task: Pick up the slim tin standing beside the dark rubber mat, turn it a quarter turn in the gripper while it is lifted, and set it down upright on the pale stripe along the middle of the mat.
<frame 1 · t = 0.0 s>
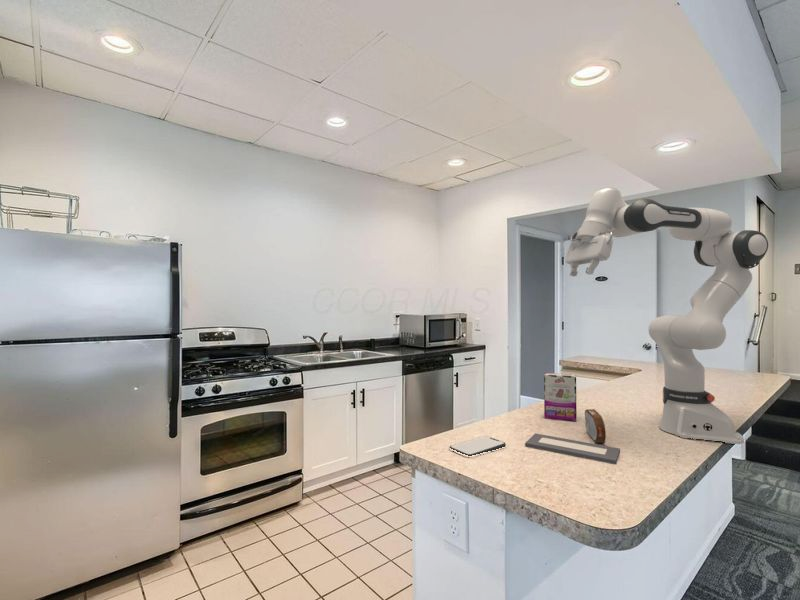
hand: (580, 274, 133), 52 cm above the counter, tool tilted 20°, fingers open, 8 cm apart
candy bar box: (560, 419, 151), on the counter
turn mat: (571, 449, 119), on the counter
tin: (594, 439, 129), on the counter
phone case: (477, 450, 119), on the counter
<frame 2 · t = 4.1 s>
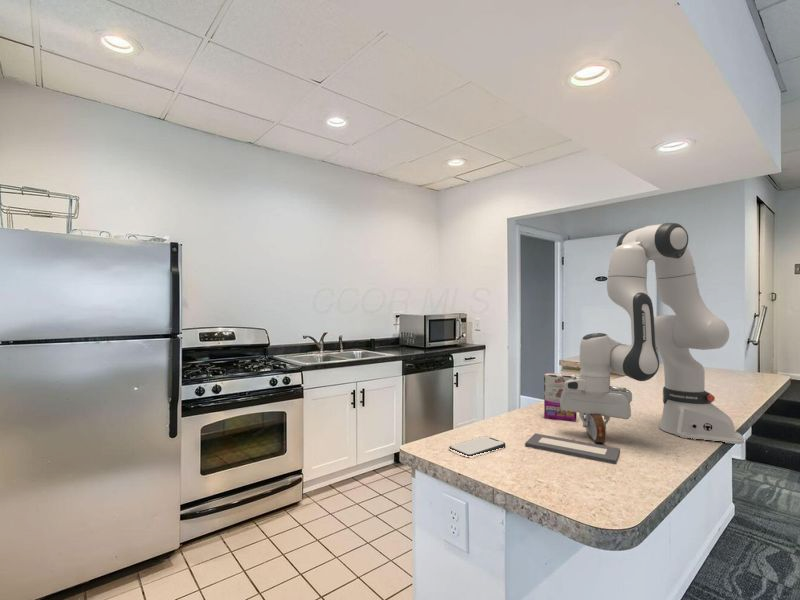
hand: (594, 428, 129), 3 cm above the counter, tool pointing down, fingers closed on tin, 4 cm apart
tin: (594, 438, 129), on the counter, touching gripper
everything else where it was.
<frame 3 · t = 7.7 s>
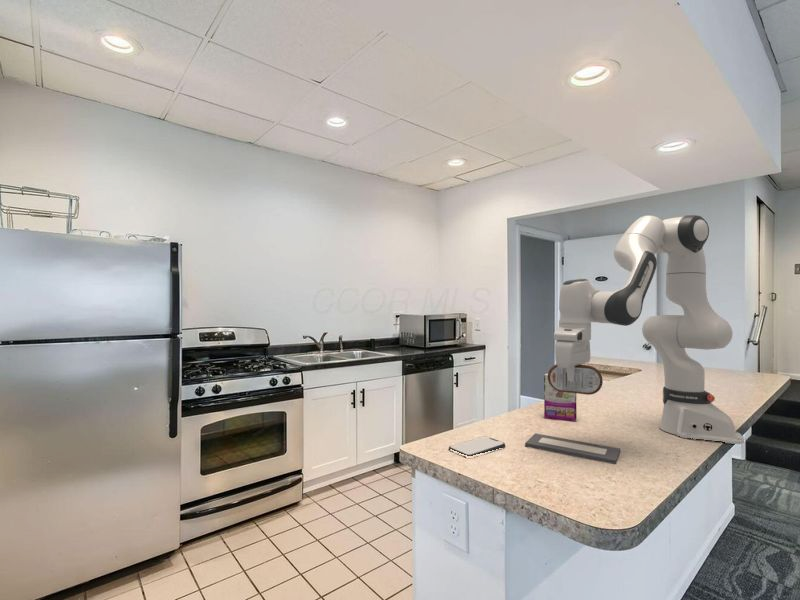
hand: (573, 380, 121), 20 cm above the counter, tool pointing down, fingers closed on tin, 3 cm apart
tin: (574, 393, 120), point 16 cm above the counter, touching gripper
everything else where it was.
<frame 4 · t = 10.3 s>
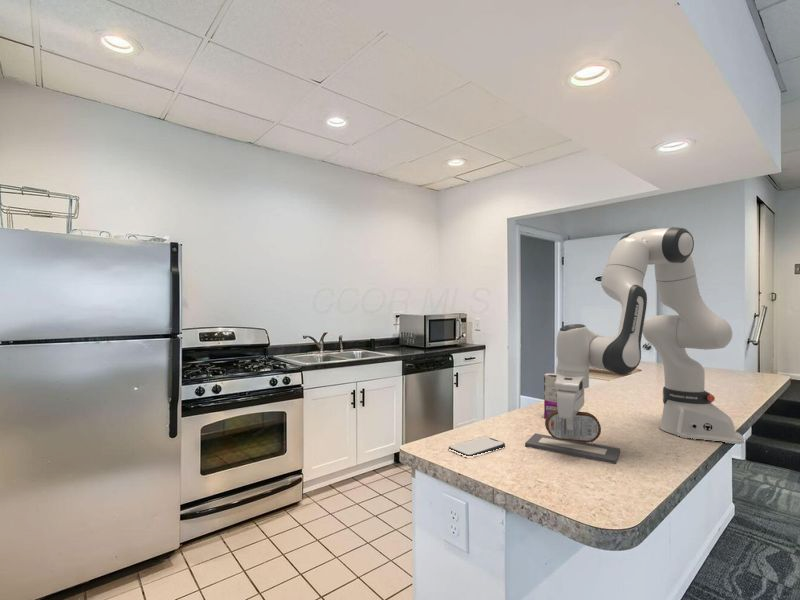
hand: (572, 427, 119), 6 cm above the counter, tool pointing down, fingers closed on tin, 3 cm apart
tin: (572, 441, 119), point 2 cm above the counter, touching gripper
everything else where it was.
when the fingers open (5 cm above the counter, at t = 11.4 s): tin moves 2 cm, resting on turn mat.
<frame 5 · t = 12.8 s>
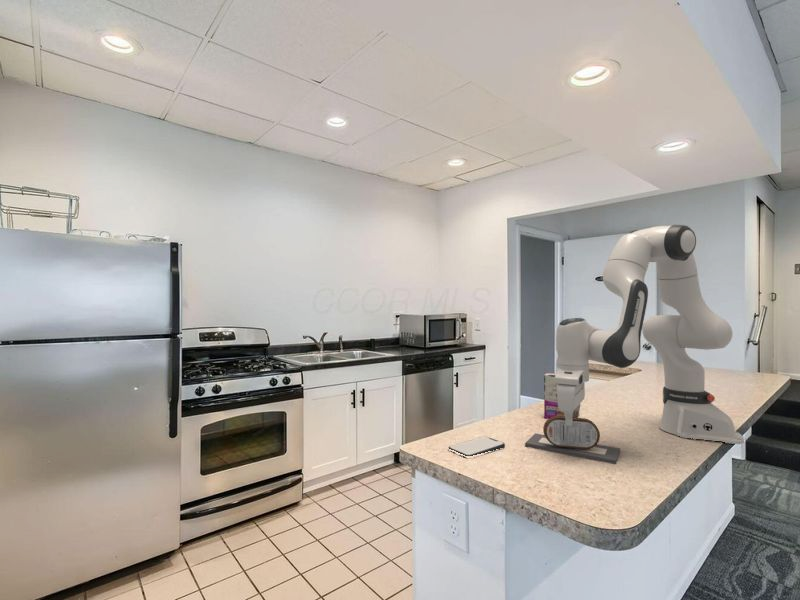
hand: (572, 420, 120), 8 cm above the counter, tool pointing down, fingers open, 8 cm apart
tin: (571, 448, 117), point 1 cm above the counter, touching turn mat
everything else where it was.
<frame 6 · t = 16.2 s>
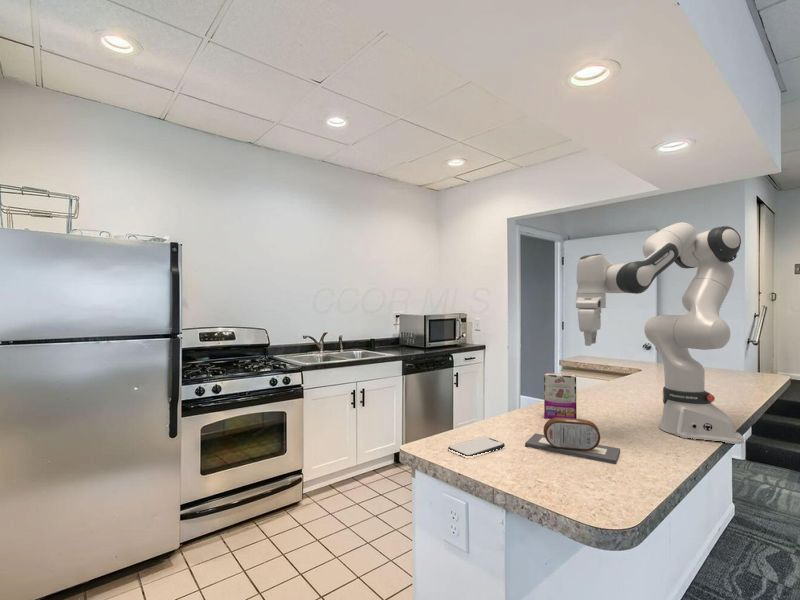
hand: (590, 344, 135), 29 cm above the counter, tool pointing down, fingers open, 8 cm apart
at the end: tin inside the target area on the turn mat (2.8 cm from its centre), point 0.8 cm above the turn mat's base; tin tilted 1°; the gripper is holding nothing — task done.
